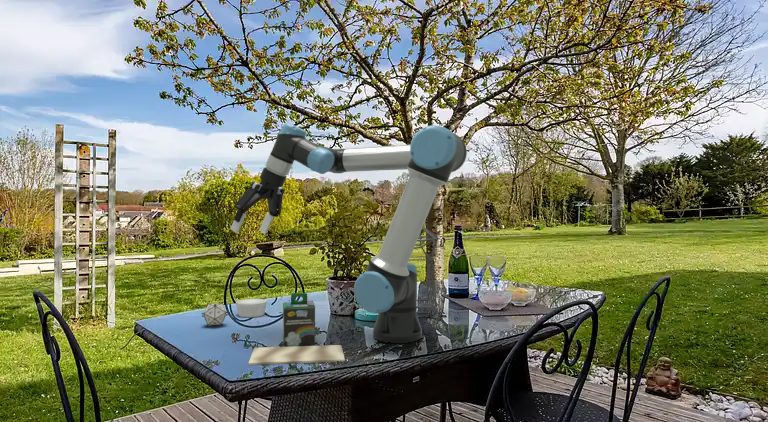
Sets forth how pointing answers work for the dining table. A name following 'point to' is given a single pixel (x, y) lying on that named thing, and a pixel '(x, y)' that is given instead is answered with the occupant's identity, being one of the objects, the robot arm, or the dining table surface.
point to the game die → (214, 314)
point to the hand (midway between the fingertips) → (248, 231)
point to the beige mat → (296, 354)
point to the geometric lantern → (428, 269)
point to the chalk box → (298, 322)
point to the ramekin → (251, 307)
